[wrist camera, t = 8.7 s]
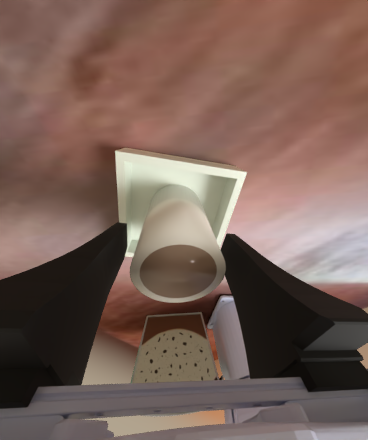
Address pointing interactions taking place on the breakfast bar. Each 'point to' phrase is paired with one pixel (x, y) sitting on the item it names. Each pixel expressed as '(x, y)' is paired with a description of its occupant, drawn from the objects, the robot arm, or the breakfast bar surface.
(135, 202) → the tray
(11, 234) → the breakfast bar surface
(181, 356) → the food container
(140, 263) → the cup
